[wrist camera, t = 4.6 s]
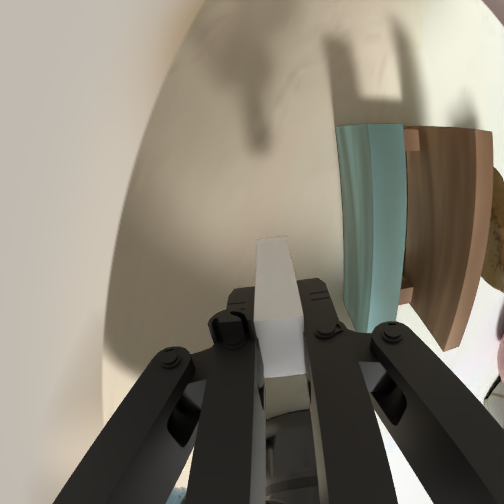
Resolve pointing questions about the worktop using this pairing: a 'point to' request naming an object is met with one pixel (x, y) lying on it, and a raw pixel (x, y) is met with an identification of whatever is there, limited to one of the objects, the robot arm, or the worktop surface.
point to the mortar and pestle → (501, 359)
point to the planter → (496, 403)
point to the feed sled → (414, 223)
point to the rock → (495, 237)
